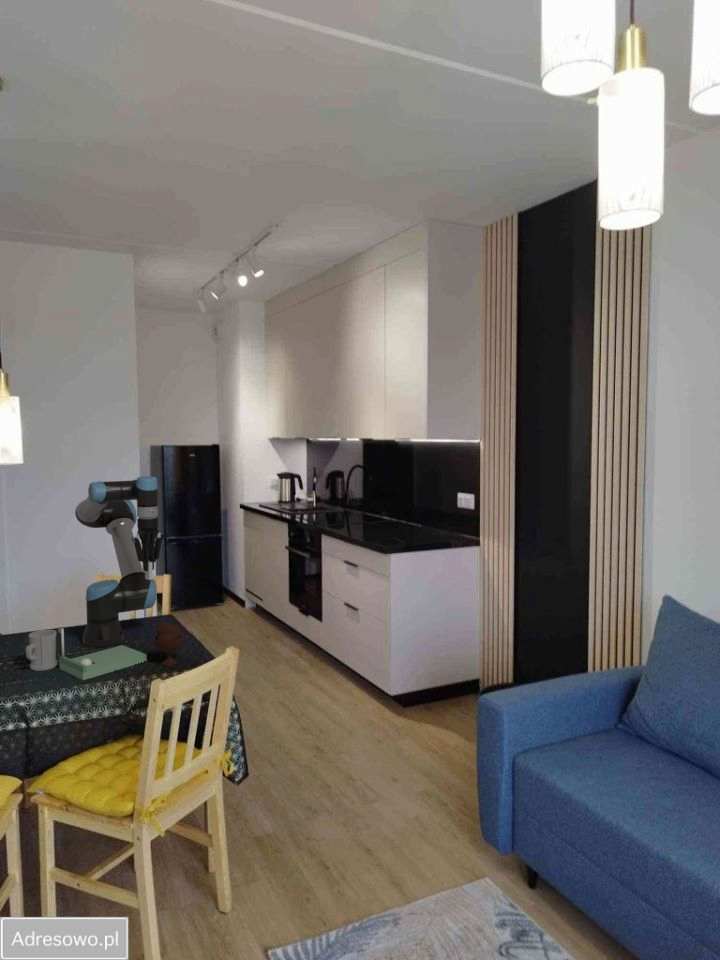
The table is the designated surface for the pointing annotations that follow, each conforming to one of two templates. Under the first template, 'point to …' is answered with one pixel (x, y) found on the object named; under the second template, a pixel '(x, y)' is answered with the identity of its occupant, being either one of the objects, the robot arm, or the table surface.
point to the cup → (42, 650)
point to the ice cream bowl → (168, 641)
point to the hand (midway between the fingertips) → (148, 578)
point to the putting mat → (100, 661)
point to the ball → (86, 662)
